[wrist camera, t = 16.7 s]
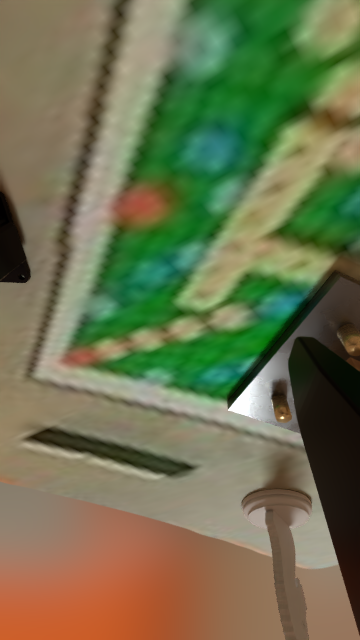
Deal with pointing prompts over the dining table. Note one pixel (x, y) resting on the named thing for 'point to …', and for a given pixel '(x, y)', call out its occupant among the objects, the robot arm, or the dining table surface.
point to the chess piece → (283, 550)
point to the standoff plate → (272, 372)
